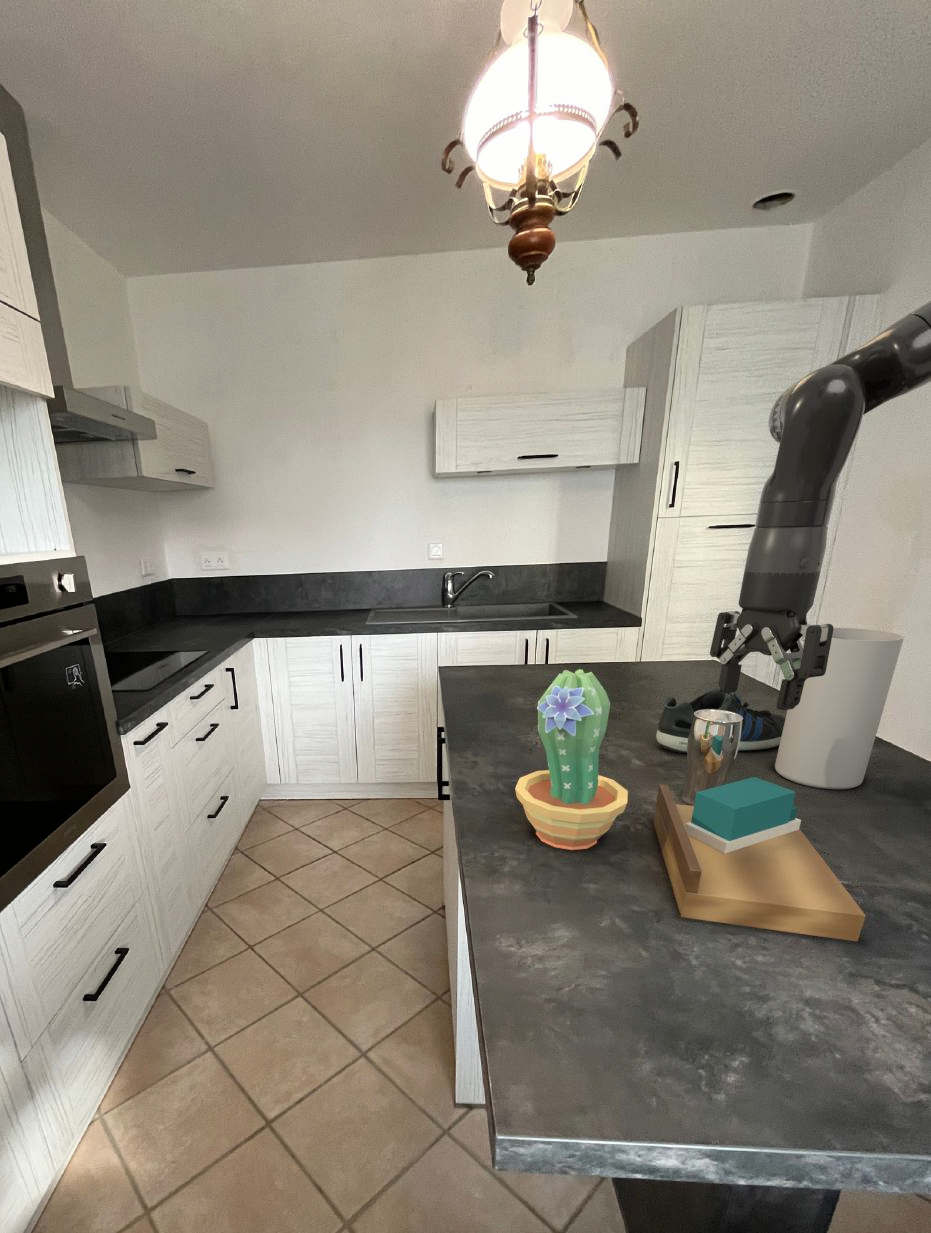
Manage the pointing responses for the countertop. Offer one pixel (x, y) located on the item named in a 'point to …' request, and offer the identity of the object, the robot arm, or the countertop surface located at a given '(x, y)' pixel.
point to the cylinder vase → (840, 711)
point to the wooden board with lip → (754, 880)
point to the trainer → (742, 814)
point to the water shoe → (756, 725)
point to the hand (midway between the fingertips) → (755, 700)
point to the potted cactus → (572, 766)
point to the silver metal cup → (711, 750)
